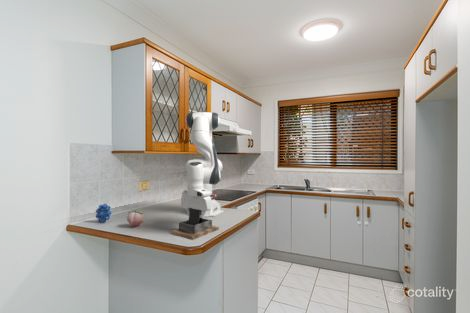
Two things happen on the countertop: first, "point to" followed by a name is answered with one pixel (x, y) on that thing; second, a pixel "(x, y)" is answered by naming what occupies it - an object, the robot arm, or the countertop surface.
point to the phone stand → (195, 217)
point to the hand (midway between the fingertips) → (195, 216)
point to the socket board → (195, 229)
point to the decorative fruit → (135, 218)
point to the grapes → (103, 213)
